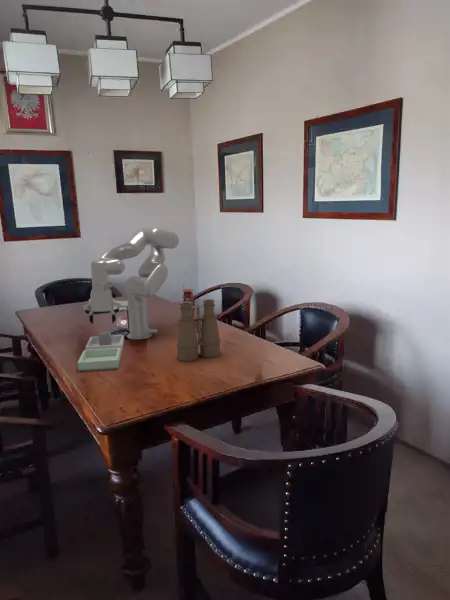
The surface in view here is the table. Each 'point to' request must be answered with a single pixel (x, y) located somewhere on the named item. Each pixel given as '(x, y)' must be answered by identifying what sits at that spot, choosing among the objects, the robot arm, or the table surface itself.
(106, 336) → the stone block
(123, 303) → the topographic map model
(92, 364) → the bin
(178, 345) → the binoculars
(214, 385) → the table surface
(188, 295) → the lantern
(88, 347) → the bin
